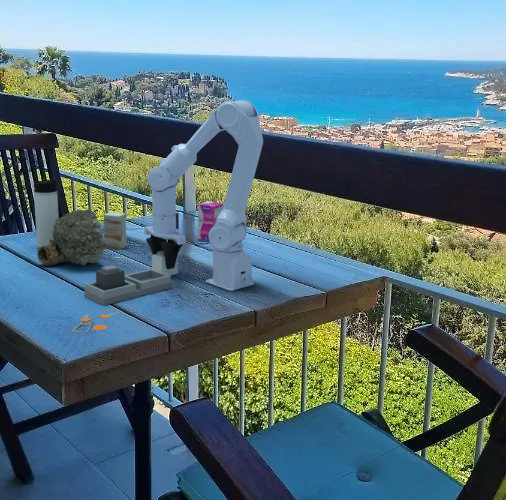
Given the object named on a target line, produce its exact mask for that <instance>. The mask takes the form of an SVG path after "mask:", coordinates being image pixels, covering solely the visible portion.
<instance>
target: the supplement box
mask: <svg viewBox="0 0 506 500" xmlns="http://www.w3.org/2000/svg"><path fill="white" fill-rule="evenodd" d="M223 206H224V203H222V202H217V201H216V202H215V201H209V200H207V201H205V202H202V203H199V204H198V205H197V210H198V212H197V216H198V217H197V228H198V229H197V241H199V242H200V241H201V242H205V243H206V242H207V243H210V241H209V232H210V230H211V228H212V227H213V226H214V225H215V223H216V219H217V217H218V216H219V214H220V213H221V211H222V209H223Z"/></svg>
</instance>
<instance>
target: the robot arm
mask: <svg viewBox="0 0 506 500" xmlns="http://www.w3.org/2000/svg"><path fill="white" fill-rule="evenodd" d="M260 124H261V123H260V112H259V111H258V110H257V108H256V106H255V105H254V104H253V103H252V102H251V101H250V100H247V99H239V100H234V101H233V100H226V101H223V102H221V103H220V104H219V106H218V107H217V108H216V109H214V110H213V111H211V113H210V115H209V116H208V118H207V119H206V120H205V121H203V123H202V125H201V126H200V127H199V128H198V129H197V130H196V131H195V133H194V134H193V135H192V137H191V138H190V139H189V140H188V141H187V142H186V143H179V144H178V145H176V144H175V145H173V146H172V147H171V152H170V153H169V154H168V155H167V156H166V158H165V159H161V160H160V161H159V166H153V167H152V168H151V169H150V171H149V173H148V174H147V183H148V186H149V187H150V188H151V192H152V195H151V196H152V200H151V201H152V203H151V204H152V205H151V206H152V225H147V226H143V227H144V228H143V230H144V235H150V236H149V237H147V238H146V239H145V241H146V243H147V244H148V247H149V249H150V251H151V255H154V254H157V252H159V251H164V255H165V264H166V268H167V269H172V268H174V267H175V263H176V259H177V256H178V255H179V253H180V251H181V249H182V247H183V246H184V245H185V244H187V242H186V241H187V240H186V235H184V234H182V233H180V229H179V230H178V229H176V211H177V210H176V202H177V201H176V192H177V190H176V189H177V186H178V185H179V184H180V181H181V177H183V175H184V174H185V173H186V172H187V171H188V170H189V169H191V167H192V166H193V165H194V164H195V163H196V162H197V160H198V158H197V153H199V152H200V150H201V149H203V147H205V146H206V145H207V144H208V143H209V142H210V141H211V140H213V138H214V137H215V136H216V135H218V133H220V132H222V131H226V132H227V133H228V134H230V135H231V137H233V139H234V141H235V142H236V143H237V145H238V148H237V153H236V156H235V159H234V160H235V161H234V162H233V163H234V164H233V169H232V172H231V176H230V180H229V184H228V187H227V191H226V195H225V199H224V203H223V209H222V211H221V213H220V214H219V216H218V217H217V219H216V223H215V225H214V226H213V227H212V228H211V230H210V232H209V241H210V242H209V244H210V245H211V247H212V278H209V279H205V283H207V284H209V285H212V286H215V287H219V288H221V289H224V290H227V291H229V292H233V291H237V290H239V289H242V288H247V287H251V286H253V285H255V282H253V281H252V280H253V278H252V276H253V275H252V274H253V260H252V257H251V255H250V254H249V253H247V252H245V251H244V249H243V248H244V244H243V241H244V240H245V239H246V237H247V232H248V229H247V219H248V217H247V214H246V208H247V204H248V202H249V201H248V200H249V197H250V192H251V190H252V185H253V183H254V178H255V175H256V171H257V167H258V165H259V160H260V156H261V152H262V148H263V146H264V137H263V133H262V128H261V125H260Z"/></svg>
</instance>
